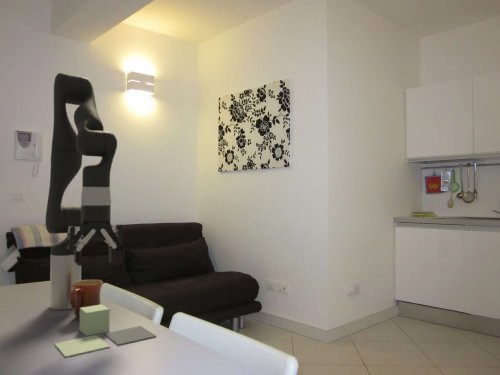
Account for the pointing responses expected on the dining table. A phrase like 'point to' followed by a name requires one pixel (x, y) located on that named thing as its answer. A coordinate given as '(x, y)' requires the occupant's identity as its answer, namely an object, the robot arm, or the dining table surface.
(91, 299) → the mug
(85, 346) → the sage pad
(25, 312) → the dining table surface
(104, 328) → the pale green cube
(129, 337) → the grey pad
